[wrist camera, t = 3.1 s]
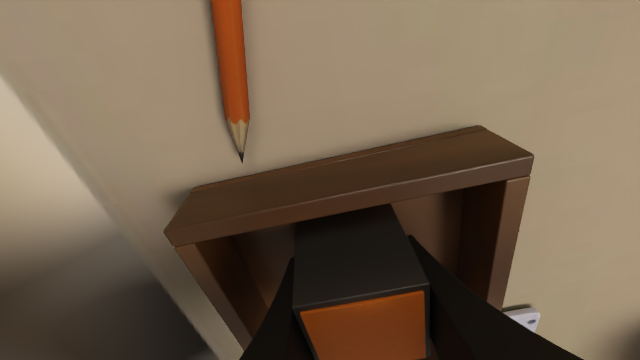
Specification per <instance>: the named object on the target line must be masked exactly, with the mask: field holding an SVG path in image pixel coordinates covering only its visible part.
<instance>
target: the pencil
mask: <svg viewBox="0 0 640 360" xmlns="http://www.w3.org/2000/svg"><path fill="white" fill-rule="evenodd" d="M211 5H212V13H213V21H214V30H215V38H216V46H217V54H218V62H219V70H220V78H221V86H222V95H223V103H224V111H225V118H226V121H227V124H228V126H229V129H230V132H231V135H232V137H233V140H234V143H235V145H236V148H237V151H238V153H239V156H240V159H241V162H242V163H243V156H244V150H245V144H246V138H247V132H248V125H249V119H250V114H249V101H248V87H247V74H246V61H245V48H244V35H243V22H242V9H241V0H211Z"/></svg>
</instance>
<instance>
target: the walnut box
mask: <svg viewBox="0 0 640 360" xmlns="http://www.w3.org/2000/svg"><path fill="white" fill-rule="evenodd" d="M533 160H534V155H533V154H532V153H530V152H528V151H527V150H525V149H523V148H521V147H519V146H517V145H515V144H514V143H512V142H510V141H508V140H506V139H504V138H502V137H500V136H499V135H497V134H495V133H493V132H491V131H489V130H487V129H486V128H484V127H483V126H475V127H471V128H466V129H462V130H457V131H452V132H448V133H443V134H439V135H434V136H429V137H425V138H420V139H416V140H411V141H406V142H402V143H397V144H393V145H388V146H383V147H379V148H374V149H370V150H365V151H360V152H356V153H351V154H347V155H342V156H337V157H333V158H328V159H324V160H319V161H314V162H310V163H305V164H301V165H296V166H291V167H287V168H282V169H278V170H273V171H268V172H264V173H259V174H255V175H250V176H245V177H241V178H236V179H232V180H227V181H222V182H218V183H213V184H209V185H204V186H199V187H195V188H194V189H193V190H192V192H191V194H190V195H189V196H188V198H187V199H186V201H185V202H184V203H183V205H182V206H181V207H180V209H179V210H178V212H177V213H176V214H175V216H174V217H173V218H172V220H171V221H170V223H169V224H168V225H167V227H166V228H165V229H164V234H165V235H166V237H167V238H168V240H169V241H170V243H171V244H172V246H174V247H175V250H176V252H177V253H178V255H179V256H180V258H181V259H182V261H183V262H184V263H185V265H186V266H187V268H188V269H189V271H190V272H191V274H192V275H193V277H194V278H195V279H196V281H197V282H198V284H199V285H200V287H201V288H202V290H203V291H204V293H205V294H206V296H207V297H208V298H209V300H210V301H211V303H212V304H213V306H214V307H215V309H216V310H217V312H218V313H219V315H220V316H221V317H222V319H223V320H224V322H225V323H226V325H227V326H228V328H229V329H230V331H231V332H232V334H233V335H234V336H235V338H236V339H237V341H238V342H239V344H240V345H241V347H242V348H243V350H244V351H245V350H246V348H247V347H248V345H249V344H250V342H251V340H252V339H253V337H254V335H255V334H256V332H257V330H258V329H259V327H260V325H261V323H262V321H263V320H264V318H265V316H266V314H267V312H268V310H269V308H270V306H271V304H272V302H273V299H274V297H275V295H276V293H277V290H278V288H279V286H280V284H281V281H282V279H283V276H284V274H285V271H286V268H287V265H288V262H289V260H290V258H291V257H295V240H296V224H297V223H298V222H303V221H308V220H313V219H318V218H323V217H328V216H333V215H338V214H343V213H348V212H353V211H358V210H363V209H368V208H373V207H377V206H382V205H387V204H391V205H392V207H393V209H394V211H395V213H396V215H397V217H398V219H399V221H400V223H401V225H402V227H403V229H404V231H405V233H406V235H413V236H414V237H415V238H416V239H417V241H418V242H419V243H420V244H421V245H422V246H423V247H424V248H425V249H426V250H427V251H428V252H429V253H430V254H431V255H432V256H433V257H434V258H435V259H436V260H437V261H438V262H439V263H440V264H441V265H442V266H444V267H445V268H446V269H447V270H448V271H449V272H450V273H451V274H453V275H454V276H455V277H456V278H457V279H458V280H460V281H461V282H462V283H463V284H464V285H466V286H467V287H468V288H469V289H471V290H472V291H473V292H475V293H476V294H477V295H479V296H480V297H481V298H483V299H484V300H485V301H487V302H488V303H490V304H491V305H492V306H494V307H495V308H497V309H498V310H500V311H501V310H502V306H503V301H504V296H505V292H506V287H507V283H508V278H509V273H510V269H511V264H512V259H513V255H514V250H515V246H516V241H517V236H518V232H519V227H520V223H521V218H522V213H523V209H524V204H525V199H526V195H527V190H528V186H529V181H530V176H529V175H530V173H531V169H532V164H533ZM430 353H431V356H430V357H426V358H422V359H415V360H439V358H438V355H437V353H436V350H435V347H434V345H433V342H432V340H431V338H430ZM314 360H315V359H314Z"/></svg>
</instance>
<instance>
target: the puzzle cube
mask: <svg viewBox="0 0 640 360" xmlns="http://www.w3.org/2000/svg"><path fill="white" fill-rule="evenodd" d="M292 310H293V312H294V314H295V317H296V319H297V321H298V323H299V326H300V328H301V330H302V332H303V335H304V337H305V339H306V341H307V344H308V346H309V348H310V350H311V353H312V355H313V357H314V359H315V360H415V359H422V358H426V357H430V356H431V353H430V282H429V280H428V278H427V276H426V274H425V272H424V270H423V268H422V266H421V264H420V262H419V260H418V258H417V256H416V254H415V252H414V250H413V248H412V246H411V244H410V242H409V240H408V237H407V235H406V233H405V231H404V229H403V227H402V225H401V223H400V221H399V219H398V217H397V215H396V213H395V211H394V209H393V207H392V205H391V204H387V205H382V206H377V207H373V208H368V209H363V210H358V211H353V212H348V213H343V214H338V215H333V216H328V217H323V218H318V219H313V220H308V221H303V222H298V223H297V224H296V240H295V258H294V275H293V292H292Z"/></svg>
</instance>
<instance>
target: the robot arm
mask: <svg viewBox="0 0 640 360" xmlns="http://www.w3.org/2000/svg"><path fill="white" fill-rule="evenodd" d="M407 237H408V240H409V242H410V244H411V246H412V248H413V250H414V252H415V254H416V256H417V258H418V260H419V262H420V264H421V266H422V268H423V270H424V272H425V274H426V276H427V278H428V280H429V282H430V338H431V340H432V342H433V345H434V347H435V350H436V353H437V355H438V358H439V360H583V359H582V358H580V357H578V356H576V355H574V354H572V353H570V352H568V351H566V350H564V349H562V348H561V347H559V346H557V345H555V344H553V343H552V342H550V341H548V340H546V339H545V338H543V337H541V336H539V335H538V334H536V333H535V330H536V327H537V324H538V321H539V318H540V313H539V312H538V310H537V309H536V308H533V307H531V308H524V309H518V310H512V311H506V312H501V311H500V310H498V309H497V308H495V307H494V306H492V305H491V304H490V303H488V302H487V301H485V300H484V299H483V298H481V297H480V296H479V295H477V294H476V293H475V292H473V291H472V290H471V289H469V288H468V287H467V286H466V285H464V284H463V283H462V282H461V281H460V280H458V279H457V278H456V277H455V276H454V275H453V274H451V273H450V272H449V271H448V270H447V269H446V268H445V267H444V266H442V265H441V264H440V263H439V262H438V261H437V260H436V259H435V258H434V257H433V256H432V255H431V254H430V253H429V252H428V251H427V250H426V249H425V248H424V247H423V246H422V245H421V244H420V243H419V242H418V241H417V239H416V238H415V237H414V236H413V235H407ZM294 258H295V257H291V258H290V260H289V262H288V265H287V268H286V271H285V274H284V276H283V279H282V281H281V284H280V286H279V288H278V290H277V293H276V295H275V297H274V299H273V302H272V304H271V306H270V308H269V310H268V312H267V314H266V316H265V318H264V320H263V321H262V323H261V325H260V327H259V329H258V330H257V332H256V334H255V335H254V337H253V339H252V340H251V342H250V344H249V345H248V347H247V348H246V350H245V351H244V353H243V355H242V356H241V358H240V359H239V360H314V357H313V355H312V353H311V350H310V348H309V346H308V344H307V341H306V339H305V337H304V335H303V332H302V330H301V328H300V326H299V323H298V321H297V319H296V317H295V314H294V312H293V310H292V292H293V275H294Z"/></svg>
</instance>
